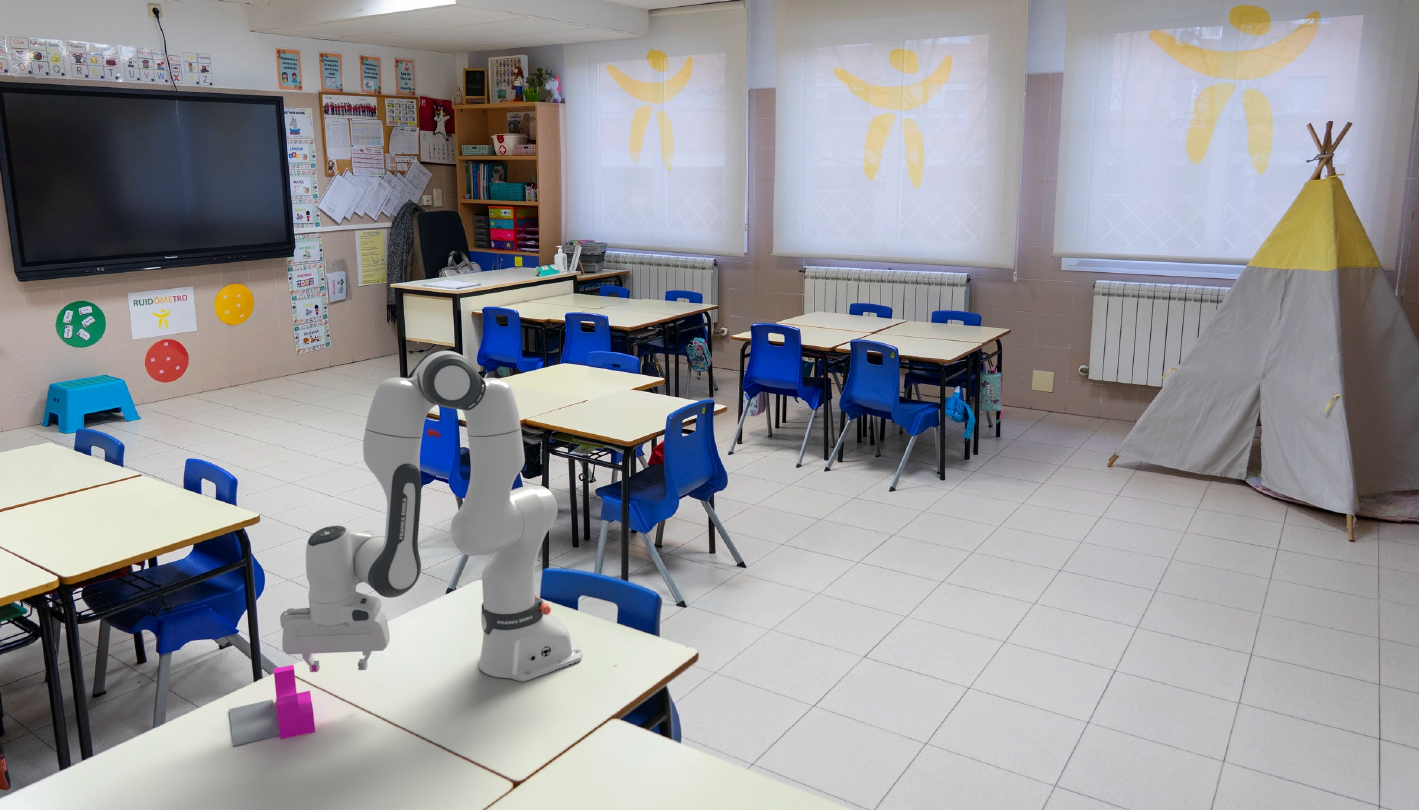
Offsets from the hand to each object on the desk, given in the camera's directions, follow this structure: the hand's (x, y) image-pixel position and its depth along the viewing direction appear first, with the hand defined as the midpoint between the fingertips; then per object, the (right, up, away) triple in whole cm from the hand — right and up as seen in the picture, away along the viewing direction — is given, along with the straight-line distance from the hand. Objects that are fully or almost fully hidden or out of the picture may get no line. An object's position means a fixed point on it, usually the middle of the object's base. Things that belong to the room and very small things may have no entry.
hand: (339, 669), depth 197 cm
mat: (-14, -9, -6) cm, 18 cm away
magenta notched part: (-7, -9, -3) cm, 12 cm away
